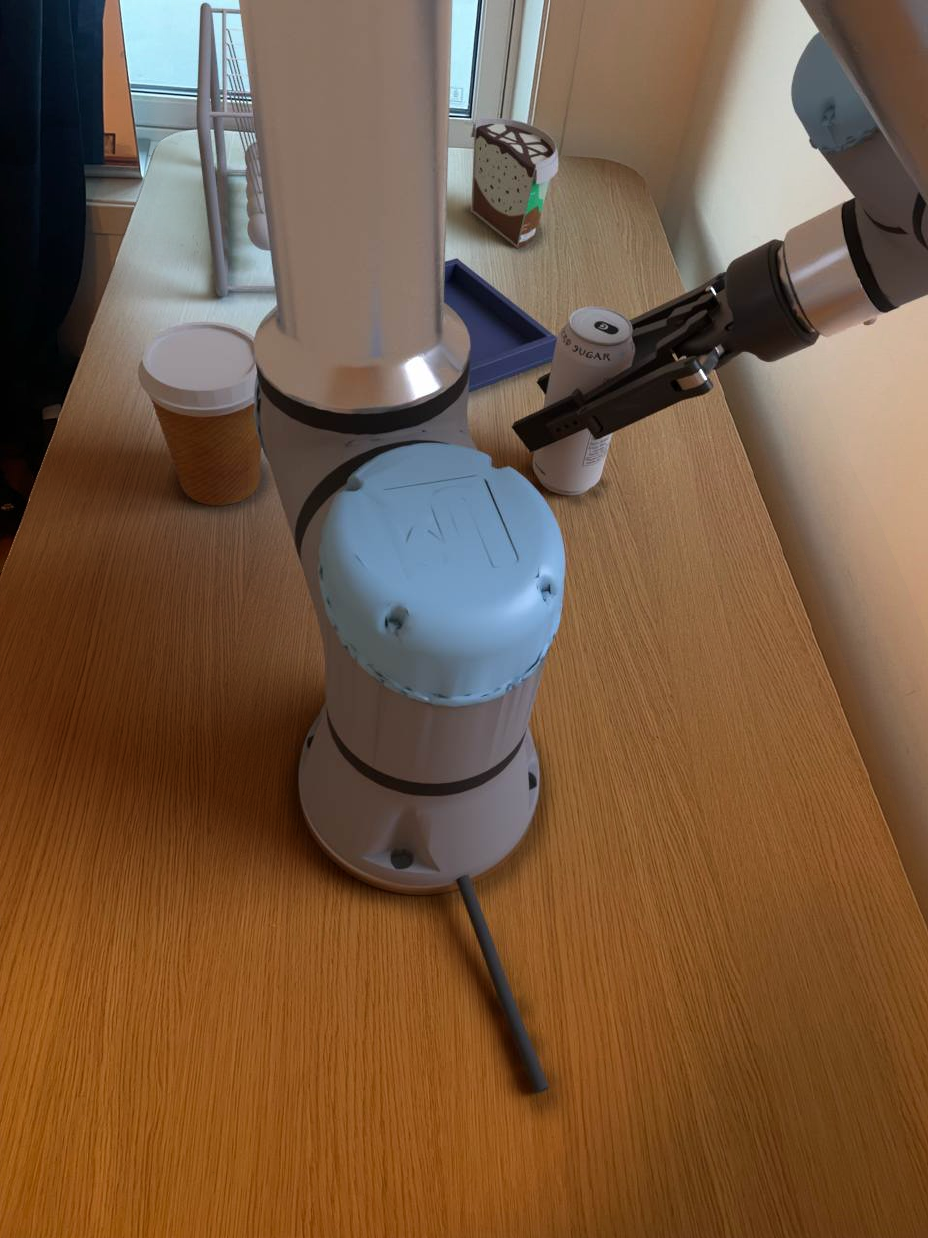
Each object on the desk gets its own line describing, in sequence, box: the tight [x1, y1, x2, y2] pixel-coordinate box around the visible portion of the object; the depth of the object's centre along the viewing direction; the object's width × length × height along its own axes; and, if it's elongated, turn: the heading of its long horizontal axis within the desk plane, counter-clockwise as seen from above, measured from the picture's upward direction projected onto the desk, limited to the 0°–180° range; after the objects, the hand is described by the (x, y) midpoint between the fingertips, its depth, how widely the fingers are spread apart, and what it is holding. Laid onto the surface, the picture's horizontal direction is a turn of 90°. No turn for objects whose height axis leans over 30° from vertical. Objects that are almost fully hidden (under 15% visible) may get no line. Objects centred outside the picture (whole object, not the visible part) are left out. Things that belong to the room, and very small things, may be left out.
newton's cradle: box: [196, 2, 275, 298], centre depth 97 cm, size 30×10×18 cm, turn 9°
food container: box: [470, 117, 559, 249], centre depth 106 cm, size 12×6×10 cm, turn 34°
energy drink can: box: [532, 306, 635, 496], centre depth 76 cm, size 6×6×15 cm
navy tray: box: [444, 257, 557, 394], centre depth 92 cm, size 17×17×3 cm
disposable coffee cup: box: [137, 321, 262, 506], centre depth 72 cm, size 10×10×12 cm
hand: (535, 414), depth 78 cm, fingers closed on energy drink can, 6 cm apart
